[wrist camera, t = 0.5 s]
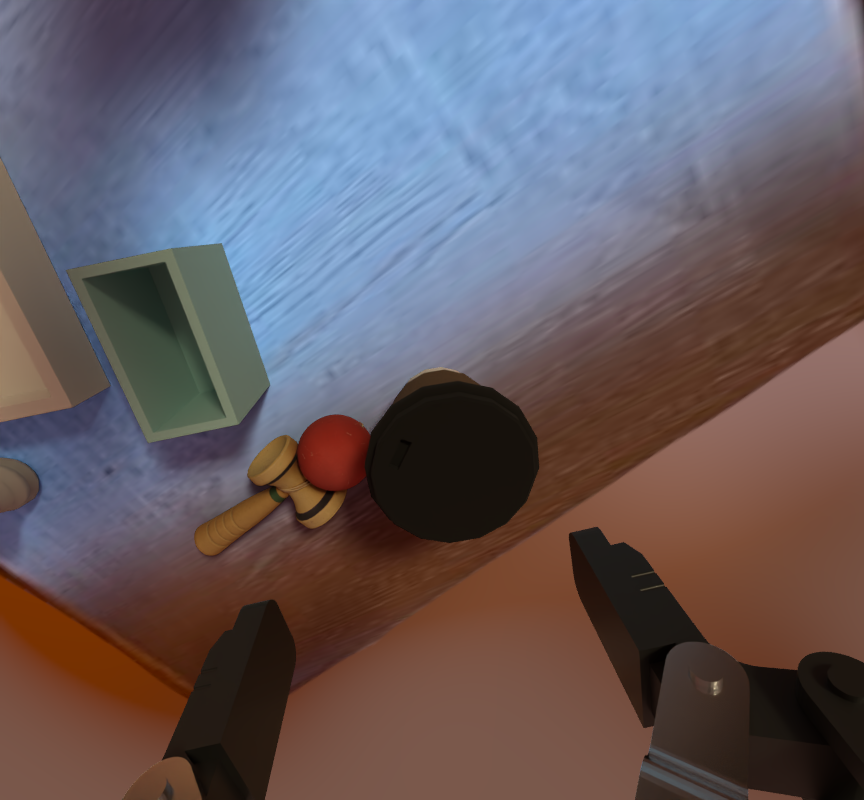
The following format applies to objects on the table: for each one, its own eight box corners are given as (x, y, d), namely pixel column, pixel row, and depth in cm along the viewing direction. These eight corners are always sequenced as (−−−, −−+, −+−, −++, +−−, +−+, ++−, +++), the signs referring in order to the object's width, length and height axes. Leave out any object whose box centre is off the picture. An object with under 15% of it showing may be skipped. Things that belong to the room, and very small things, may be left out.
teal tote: (140, 259, 33) (65, 270, 25) (222, 243, 33) (171, 248, 25) (198, 398, 37) (147, 443, 29) (270, 384, 37) (238, 424, 29)
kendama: (259, 549, 44) (403, 457, 39) (221, 595, 38) (385, 493, 33) (205, 488, 43) (347, 384, 37) (157, 526, 37) (317, 409, 31)
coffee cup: (353, 433, 39) (335, 517, 28) (404, 317, 36) (409, 359, 24) (466, 476, 41) (492, 570, 30) (524, 371, 38) (578, 431, 27)
